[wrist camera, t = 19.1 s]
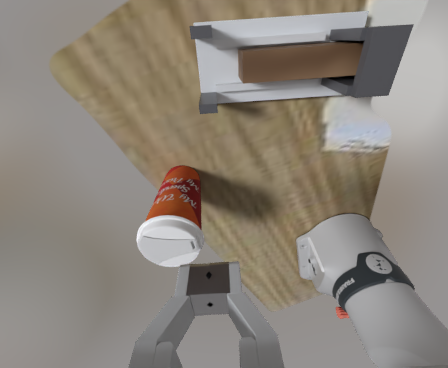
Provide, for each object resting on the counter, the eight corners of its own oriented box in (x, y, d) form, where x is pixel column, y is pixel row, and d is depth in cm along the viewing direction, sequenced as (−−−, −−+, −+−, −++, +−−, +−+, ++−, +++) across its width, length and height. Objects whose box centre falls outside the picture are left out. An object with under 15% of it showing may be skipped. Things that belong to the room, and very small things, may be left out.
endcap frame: (342, 92, 31) (383, 109, 24) (202, 101, 31) (199, 122, 23) (361, 12, 26) (421, 2, 18) (194, 23, 26) (187, 18, 18)
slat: (346, 68, 28) (369, 74, 24) (238, 76, 28) (243, 83, 24) (353, 40, 26) (379, 41, 22) (237, 49, 26) (242, 51, 22)
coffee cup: (201, 156, 36) (196, 219, 23) (210, 195, 40) (209, 265, 28) (152, 163, 36) (120, 229, 24) (166, 201, 41) (146, 273, 28)
